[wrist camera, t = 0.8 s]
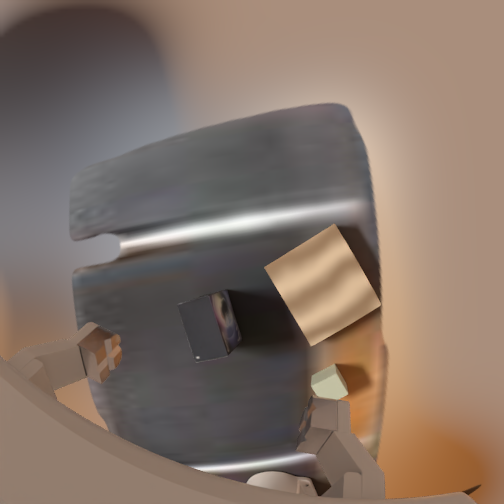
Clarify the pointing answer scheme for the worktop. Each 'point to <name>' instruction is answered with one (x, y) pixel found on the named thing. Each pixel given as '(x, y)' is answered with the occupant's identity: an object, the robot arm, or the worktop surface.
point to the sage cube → (329, 383)
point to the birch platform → (323, 285)
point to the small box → (210, 326)
